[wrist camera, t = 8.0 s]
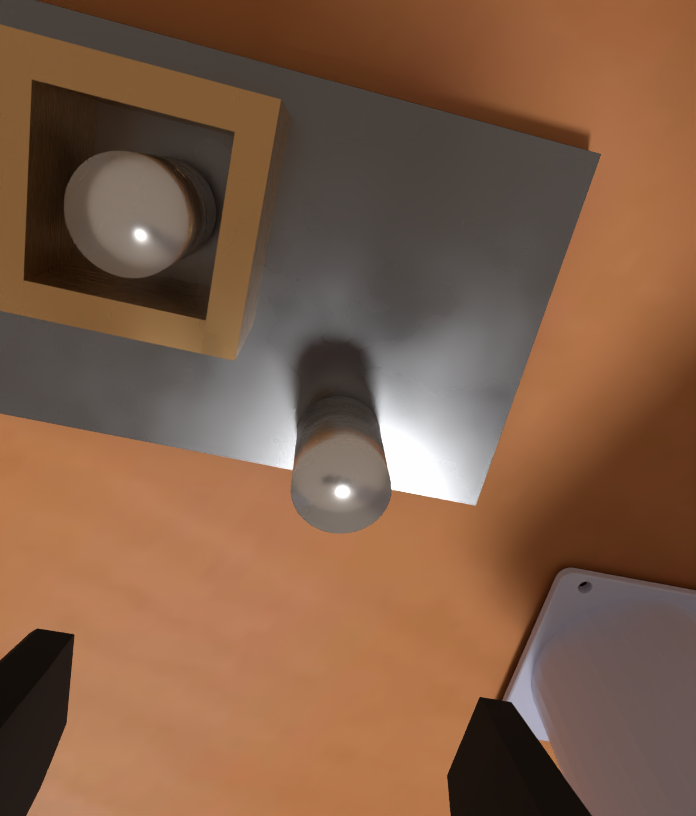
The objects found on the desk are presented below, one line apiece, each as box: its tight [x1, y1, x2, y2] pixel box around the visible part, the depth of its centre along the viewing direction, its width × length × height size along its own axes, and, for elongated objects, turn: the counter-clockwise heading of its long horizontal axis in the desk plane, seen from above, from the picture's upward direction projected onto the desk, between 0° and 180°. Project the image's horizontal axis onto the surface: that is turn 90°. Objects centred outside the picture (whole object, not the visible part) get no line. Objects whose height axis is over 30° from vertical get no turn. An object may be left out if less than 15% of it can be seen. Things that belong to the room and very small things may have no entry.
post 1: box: [64, 151, 216, 278], centre depth 14 cm, size 3×3×4 cm
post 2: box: [291, 396, 392, 533], centre depth 17 cm, size 3×3×4 cm
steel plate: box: [0, 0, 601, 505], centre depth 17 cm, size 16×11×1 cm
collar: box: [0, 24, 291, 361], centre depth 14 cm, size 6×6×4 cm
